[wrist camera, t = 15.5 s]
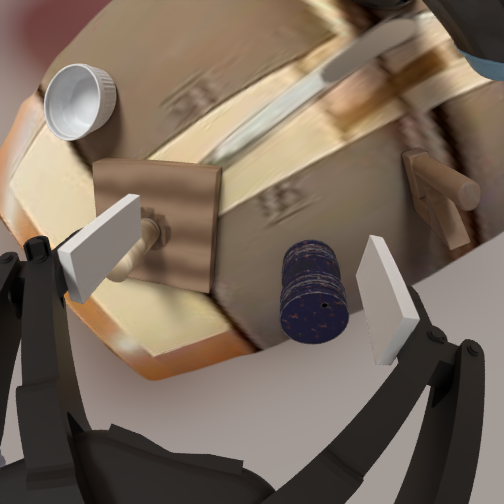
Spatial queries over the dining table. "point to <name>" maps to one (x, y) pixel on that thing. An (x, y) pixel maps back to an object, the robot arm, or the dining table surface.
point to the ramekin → (78, 101)
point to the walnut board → (168, 215)
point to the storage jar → (312, 294)
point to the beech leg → (136, 250)
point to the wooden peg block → (440, 196)
